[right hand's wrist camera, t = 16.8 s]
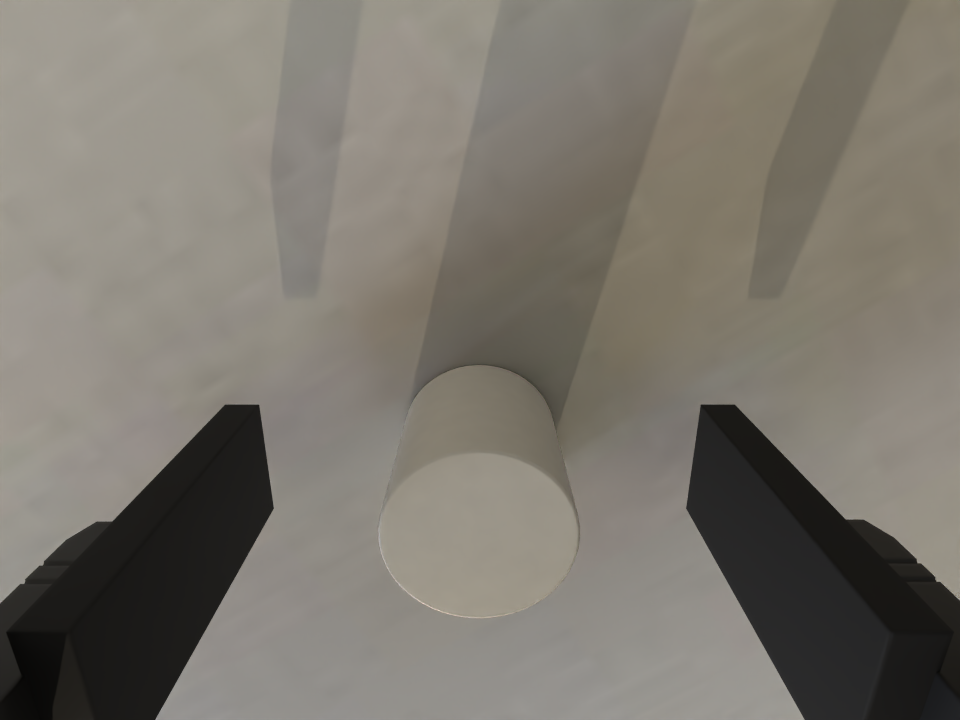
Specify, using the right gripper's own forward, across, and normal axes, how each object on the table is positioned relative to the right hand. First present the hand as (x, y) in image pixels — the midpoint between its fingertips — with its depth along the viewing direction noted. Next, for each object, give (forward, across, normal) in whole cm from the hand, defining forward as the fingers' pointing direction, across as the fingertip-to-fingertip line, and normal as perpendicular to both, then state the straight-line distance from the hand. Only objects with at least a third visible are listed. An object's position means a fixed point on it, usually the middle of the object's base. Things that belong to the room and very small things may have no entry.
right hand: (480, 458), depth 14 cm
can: (+1, 0, 0) cm, 1 cm away
